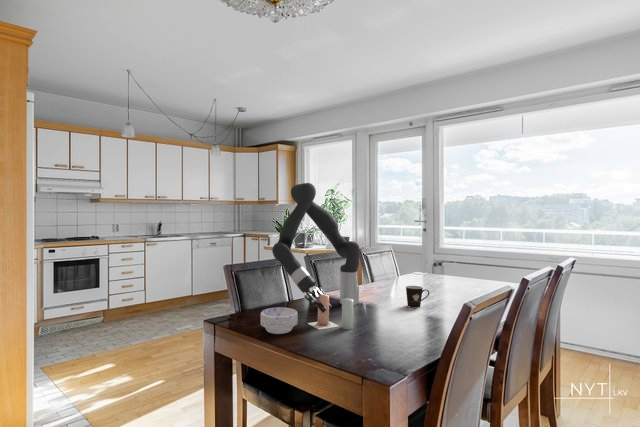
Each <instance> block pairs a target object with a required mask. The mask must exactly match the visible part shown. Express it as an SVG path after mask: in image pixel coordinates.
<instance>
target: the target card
mask: <svg viewBox="0 0 640 427" xmlns="http://www.w3.org/2000/svg"><path fill="white" fill-rule="evenodd" d="M307 325H309V326H311V327H313V328H315V329H317V330H318V331H319V330H320V331H321V330H327V329H333V328H339V327H340V325H338V324H336V323H334V322H332V321H330V320H329V323H328V324H318V321H314V322H307Z"/></svg>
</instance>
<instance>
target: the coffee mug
mask: <svg viewBox="0 0 640 427" xmlns="http://www.w3.org/2000/svg"><path fill="white" fill-rule="evenodd" d="M405 290H406V291H405V292H406V302H407V307H408V306H410V307H409V308H412V307H419V308H420V307H421V304H422V302H423V301H424V300H425V299H427V298H428V297H429V295H430V290H428V289H427V288H426V289H424V287H423V286H420V285H406V286H405ZM426 291H427V295H426V296H425V297H423V292H426ZM422 297H423V298H422Z"/></svg>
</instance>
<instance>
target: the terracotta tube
mask: <svg viewBox="0 0 640 427" xmlns="http://www.w3.org/2000/svg"><path fill="white" fill-rule="evenodd" d="M318 296H319V300H320V302H321V303H322V304H323V305H324V307H325V308H326V311H325V312H324V313H322V312H321V310H320V309H319V308H318V307H317V322H318V324H328V323H329V321H330V309H329V303H330V294H327V293H325V294H319V295H318Z"/></svg>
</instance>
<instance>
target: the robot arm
mask: <svg viewBox="0 0 640 427" xmlns="http://www.w3.org/2000/svg"><path fill="white" fill-rule="evenodd" d="M316 193H317V191H316V188H315V185H314V184H312V183H311V182H303V183H298V184H295V185H293V186H292V187H291V189H290V196H291V198H292V200H293V201H294V202H295V203H296V206H295V207H294V209H293V210H292V211H291V213H290V214H288V216H287V217H286V219H285V221H284V223H283V224H282V227H281V230H280V232H279V237H278V238H279V239H278V241H277V243H274V244H273V246H272V250H271V251H272V255H273V257H274V259H275V260H276V261H278V262H279V263H280V264H281V265H282V266H283V268H284V270H285V272H286V273H287V274H288V276H289V277H290V278H291V279H292V282H293V283H294V284H295V285H296V287H297V288H298V289H299V290H300V292H301V293H302V294H305V295H304V297H303V298H305V300H307V301H308V302H309V303H310V304H311V305H312V306H313V307H315V306H316V307H317V309H318V308H319V309H320V310H321V312H322V313H324V312H325V311H326V308H325V307H324V305H323V304H322V303H321V302H320V300H319V296H318V295H319V294H326V292H325V291H324V289H323V287H317V286H316V280H315V279H314V277H313V276H312V275H311V274H310V272H308V270H307V269H306V268H305V267H304V266H303V265H302V264H301V262H299V261H298V259H297V258H296V256H295V255H294V254H293V252H292V250H291V249H292V246H293V241H294V239H295V237H296V235H297V232H298V229H299V227H300V225H301V223H302V220H303V219H304V217H305V215H306V214H307V215H308V216H309V218H310V219H311V221H312V222H314V224H315V225H316V226H317V228H318V229H319V230H320V231H321V232H322V234H324V236H325V237H326V239H327V240H328V241H329V242H330V244H331V245H332V246H333V248H334V250H335V251H336V253H337V254H338V255H339V257H341V258H343V259H345V263H344V264H342V265H340V268H339V270H340V271H339V276H340V277H339V304H341V305H342V299H344V298H351V299H353V306H356V305H357V304H358V305H359V304H360V303H359V302H360V286H359V285H358V269H359V266H360V256H361V255H360V254H361V251H360V250H361V248H360V245H359V243H358V242H356V241H352V240H346V239H345V238H344V237H343V236H342V235H341V233H340V231H339V225H338V222H337V220H336V219H335V218H334V216H333V215H332V214H331V213H330V212H329V211H328V210H327V209H325V208H323V207H322V206H320V205H319V204H317V203H316V202H314V200H315V197H316V195H317V194H316ZM332 307H333V306H332V304H330V302H329V310H331V309H332Z"/></svg>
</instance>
